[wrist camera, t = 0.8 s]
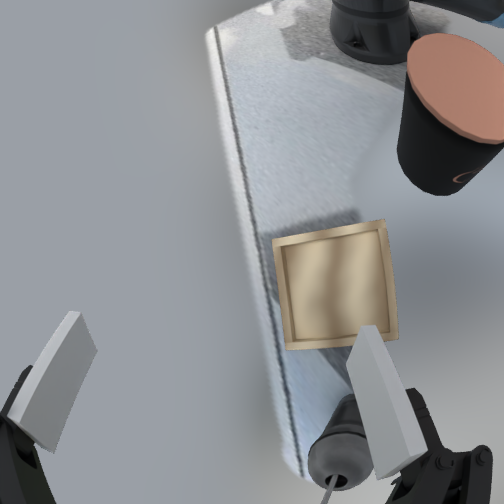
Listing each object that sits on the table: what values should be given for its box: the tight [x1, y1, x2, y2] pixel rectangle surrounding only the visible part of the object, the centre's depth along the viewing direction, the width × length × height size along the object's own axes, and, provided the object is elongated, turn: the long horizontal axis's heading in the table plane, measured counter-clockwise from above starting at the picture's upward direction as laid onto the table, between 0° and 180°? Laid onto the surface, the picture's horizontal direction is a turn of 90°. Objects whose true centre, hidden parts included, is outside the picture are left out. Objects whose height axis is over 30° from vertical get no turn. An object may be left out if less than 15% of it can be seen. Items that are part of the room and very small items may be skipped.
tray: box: [272, 219, 399, 350], centre depth 32 cm, size 14×14×2 cm
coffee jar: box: [397, 33, 504, 196], centre depth 20 cm, size 11×11×18 cm
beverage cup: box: [308, 394, 374, 504], centre depth 22 cm, size 7×7×20 cm
